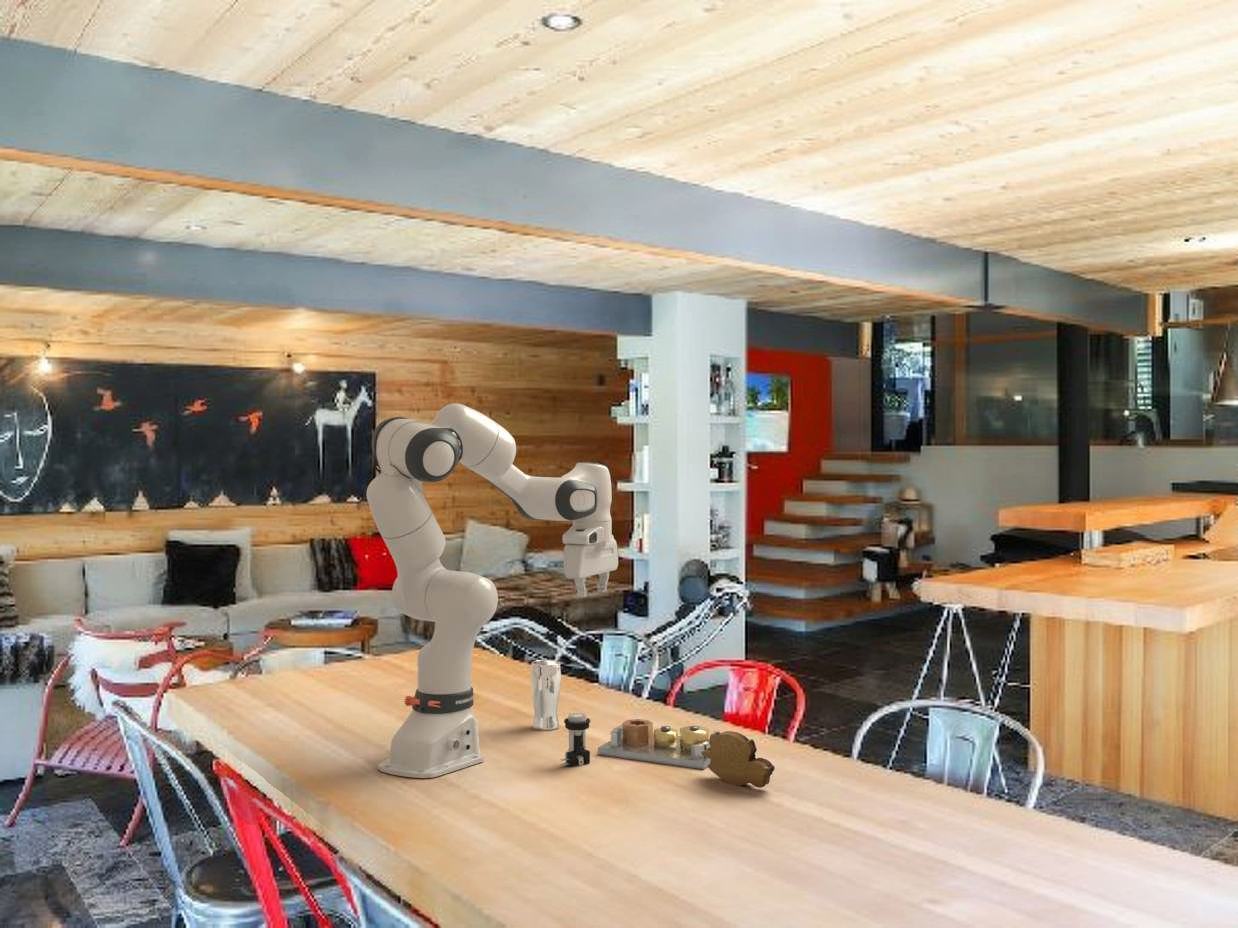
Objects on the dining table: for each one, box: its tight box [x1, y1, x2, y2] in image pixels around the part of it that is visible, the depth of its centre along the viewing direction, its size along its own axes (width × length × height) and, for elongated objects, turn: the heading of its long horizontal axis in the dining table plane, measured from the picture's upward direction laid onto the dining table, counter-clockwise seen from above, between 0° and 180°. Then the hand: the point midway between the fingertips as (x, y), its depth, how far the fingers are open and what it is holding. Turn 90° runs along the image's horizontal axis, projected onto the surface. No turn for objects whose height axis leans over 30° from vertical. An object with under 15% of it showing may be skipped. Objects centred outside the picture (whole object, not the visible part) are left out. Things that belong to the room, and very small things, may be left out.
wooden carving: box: [701, 730, 775, 789], centre depth 212 cm, size 16×5×10 cm, turn 49°
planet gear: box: [622, 718, 654, 746], centre depth 236 cm, size 6×6×4 cm
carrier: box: [597, 724, 721, 770], centre depth 234 cm, size 16×24×6 cm, turn 64°
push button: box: [560, 712, 591, 768], centre depth 224 cm, size 7×5×10 cm
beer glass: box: [530, 659, 562, 731], centre depth 254 cm, size 7×7×15 cm
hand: (592, 594), depth 250 cm, fingers open, 8 cm apart
